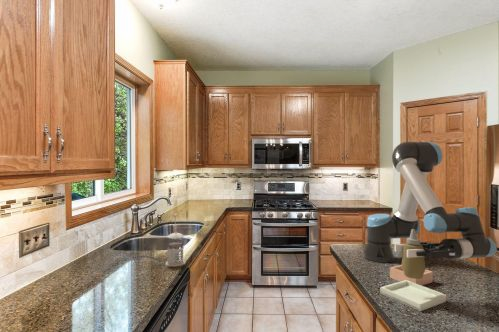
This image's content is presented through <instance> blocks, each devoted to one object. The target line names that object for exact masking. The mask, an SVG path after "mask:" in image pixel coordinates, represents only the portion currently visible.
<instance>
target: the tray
mask: <svg viewBox="0 0 499 332" xmlns="http://www.w3.org/2000/svg"><path fill="white" fill-rule="evenodd" d="M379 290H380V291H379V293H380V295H383V296H385V297H387V298H389V299H390V300H391V299H392V300H394V301H396V302H397V303H400V304H401V305H402V304H403V305H405V306H407V307H409V308H411V309H414V310H415V311H418V312H422V311H425V310H427V309H429V308H433V307H436V306H438V305H441V304H443V303H446V302H447V294H445V293H444V292H443V293H442V292H439V291H437V290H434V289H432V288H430V287H426V286H425V285H422V286H421V285H418V284H416V283H413V282H410V281H408V280H404V281H398V282H394V283H391V284H387V285H384V286H381V287H380V289H379Z"/></svg>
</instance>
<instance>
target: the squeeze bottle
mask: <svg viewBox="0 0 499 332" xmlns="http://www.w3.org/2000/svg"><path fill="white" fill-rule="evenodd" d="M420 242H421V239H420V238H418V234H417V235H416V231H415V229H412V230H411V234H410V238H406V242H405V243H403V244H404V248H403V252H402V257H401V258H402V259H401V265H402V268H403V271H404V274H405V276H406V277H409V278H413V279H421V278H422V277H423V274H424V272H425V269H426V261H425V256H424V257H410V258H408V257H407V250H410V249H423V246H422V245H420Z"/></svg>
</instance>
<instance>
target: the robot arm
mask: <svg viewBox="0 0 499 332" xmlns="http://www.w3.org/2000/svg"><path fill="white" fill-rule="evenodd" d="M391 161H392V165H393V166H394V169H395V170H396V172H398V173H400V174H401V176H402V178H403V179H404V181H405V183H404V186H403V190H402V193H401V196H400V197H401V198H400V200H399V203H398V208H397V209H394V211H393V213H392V216H391V215H390V214H388V213H374V214H370V215H369V216H368V217H367V222H366V234H367V235H366V239H367V240H366V245H365V247H364V250H363V258H364V259H366V260H368V261H372V262H377V263H392V262H393V261H395V255H394V253H393V248H392V246H391V242H392V241H391V239H407V238H410V234H411V230H412V229H415V231H416V235H417V236H418V235H419V233H420V230H421V225H420V223H421V222H420V221H419V219H418V216H417V214H416V213H417V210H418V207H419V206H420V209H421V211H422V212H423V213H424V217H423V219H422V222H423V227H424V228H425V230H426V231H427V232H429V233H433V234H434V233H435V234H443V233H460V234H461V237H457V238H456V237H455V238H443V239H442V240H441V241H440V242H431V241H420V245H422V246H423V249H410V250H407V257H408V258H410V257H424V258H430V259H431V260H435V259H444V258H445V259H448V260H453V259H460V260H463V259H475V258H477V259H478V258H490V257H493V256H494V255H495V254H496V253H497V250H498V249H497V248H498V247H497V243H495V241H494V240H493V239H491V237H486V234H485V231H484V227H483V224H482V221H481V217H480V215H479V212H478V209H477V208H475V207H473V206H472V207H471V206H466V207H460V208H457V209H455V210H454V212H450V213H449V212H447V210H446V209H445V207H444V206H443V204H442V203H441V201H440V200H439V198H438V196H437V195H436V193H435V191H434V190H433V189H432V187H431V186H430V183H429V182H428V180H427V178H428V174H430V173H432V172H433V169H434V167H436V166H438V165H441V163H442V161H443V150H442V149H441V147H440V146H439V144H437V143H435V142H432V141H431V142H429V141H405V142H404V141H403V142H401V143H399V144H397V146H396V147H395V148H394V149H393V152H392V154H391ZM404 244H405V243H402V244H401V243H399V244H398V243H397V244H395V243H394V252H395V253H396V252H397V253H403V248H404Z"/></svg>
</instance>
